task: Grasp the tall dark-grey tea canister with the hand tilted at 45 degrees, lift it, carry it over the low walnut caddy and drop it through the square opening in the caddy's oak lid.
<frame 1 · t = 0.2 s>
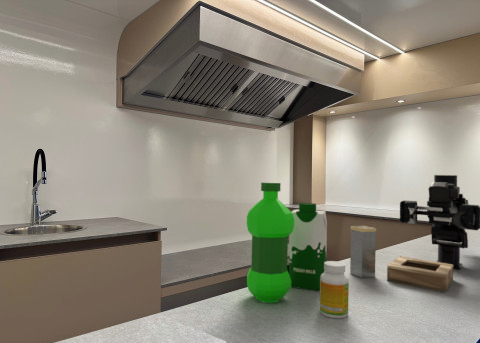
hand: (431, 218, 84), 17 cm above the countertop, tool horizontal, fingers open, 9 cm apart
supplement bottle: (333, 314, 66), on the countertop
tea canister: (362, 275, 91), on the countertop
caddy: (420, 280, 88), on the countertop
milk carton: (307, 285, 83), on the countertop
plastic bottle: (268, 299, 73), on the countertop
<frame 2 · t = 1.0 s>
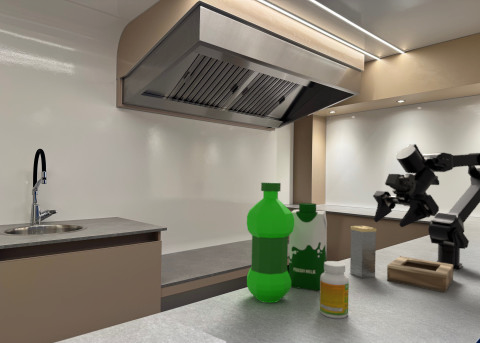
hand: (387, 223, 94), 14 cm above the countertop, tool tilted 45°, fingers open, 9 cm apart
nothing on the countertop moved.
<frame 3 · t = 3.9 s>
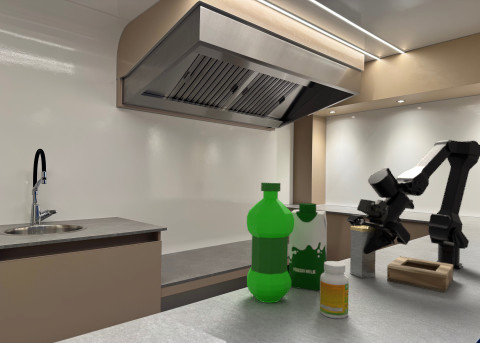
hand: (358, 251, 91), 7 cm above the countertop, tool tilted 45°, fingers closed on tea canister, 4 cm apart
tea canister: (362, 275, 91), on the countertop, touching gripper
everything else where it was.
when the fingers open (11 cm above the countertop, at t = 6.9 s): tea canister drops 4 cm, resting on caddy.
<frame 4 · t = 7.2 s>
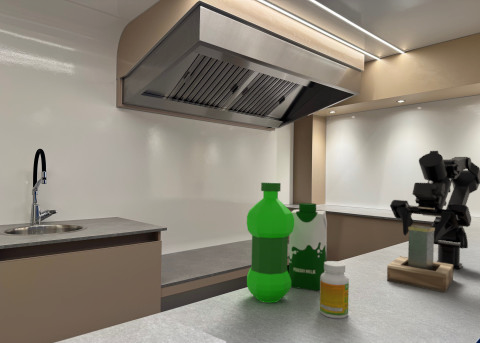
hand: (419, 236, 87), 12 cm above the countertop, tool tilted 45°, fingers open, 7 cm apart
tea canister: (420, 276, 88), point 1 cm above the countertop, touching caddy
everything else where it was.
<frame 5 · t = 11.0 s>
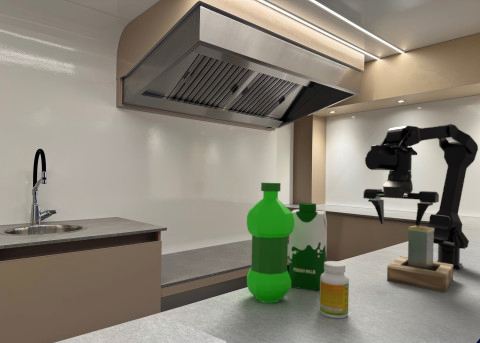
hand: (399, 225, 96), 13 cm above the countertop, tool pointing down, fingers open, 9 cm apart
nothing on the countertop moved.
at the end: tea canister inside the target area on the caddy (0.0 cm from its centre), point 0.8 cm above the caddy's base; the gripper is holding nothing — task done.
